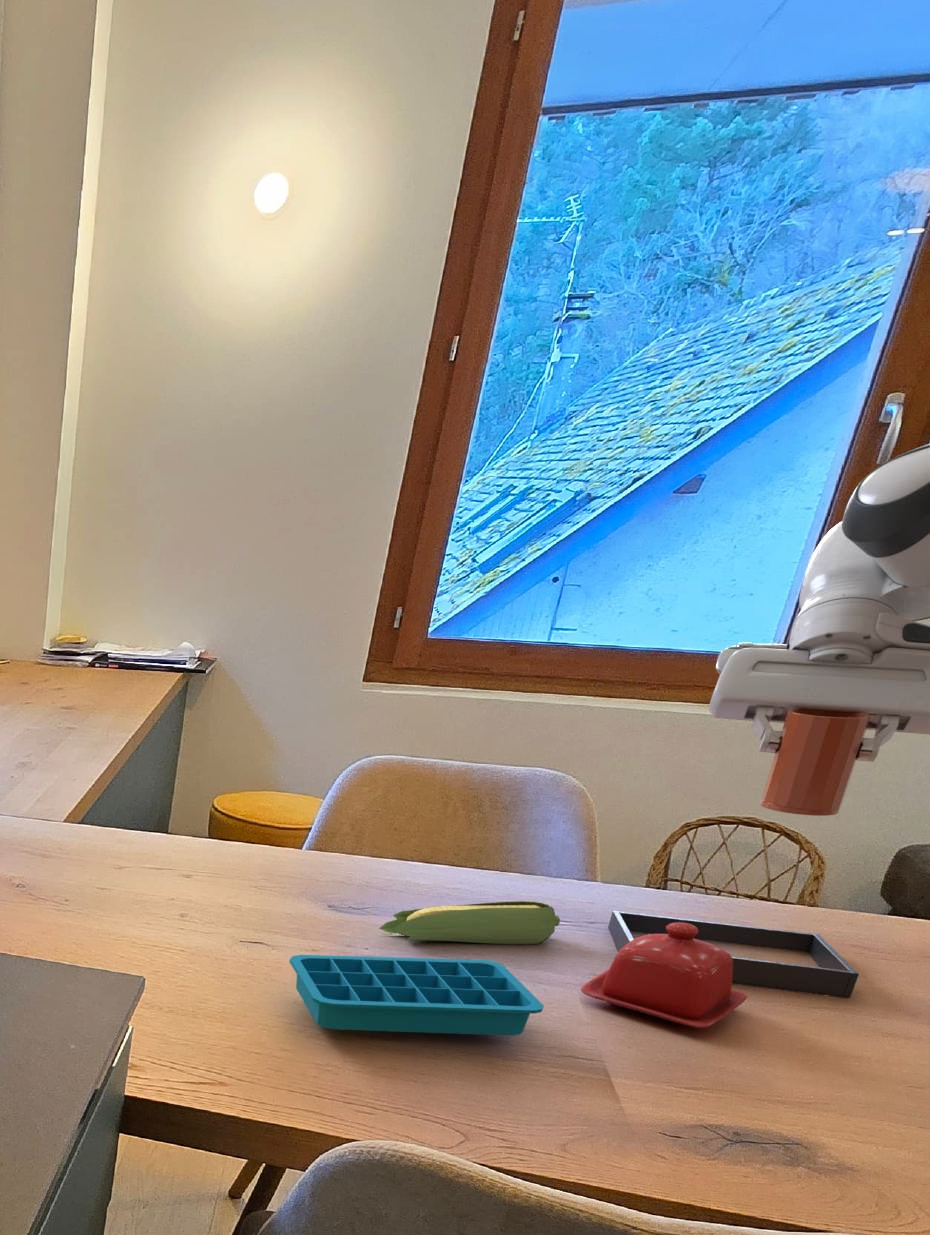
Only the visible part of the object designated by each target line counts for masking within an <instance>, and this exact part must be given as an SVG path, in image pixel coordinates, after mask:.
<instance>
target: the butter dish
mask: <svg viewBox="0 0 930 1235" xmlns="http://www.w3.org/2000/svg"><path fill="white" fill-rule="evenodd" d="M666 930H667V932H668V934H644V935H641V936H638V937H637V938H634V940H632V941H631V942H629V943H628V944H626V945H625V946H624V947H623V948H622V949H621V950H620V951H619V952H618V951H617V953H616V955H615V956H614V958H613V961H612V962H611V964H610V967H609V968H608V969H606V970H605V971H603V972H601V973H600V974H598V975H597V976H595V977H593V978H592V979H591V980H589V981H588V982H587V983H585V984H584V985H582V986H581V988H580V991H581V993H582V994H584V995H586V996H588V997H591V998H593V999H596V1000H600V1001H604V1002H606V1003H608V1004H611V1005H614V1006H617V1007H621V1008H624V1009H628V1010H631V1011H635V1012H637V1013H642V1014H645V1015H648V1016H651V1017H655V1018H658V1019H662V1020H666V1021H669V1022H672V1023H676V1024H678V1025H679V1024H680V1025H683V1026H690V1027H693V1028H700V1029H703V1028H708V1027H710V1026H712V1025H714V1024H715V1023H718V1022H719V1021H720V1020H721V1019H722V1018H724V1017H725V1016H727V1015H728V1014H730V1013H731V1012H732V1011H733V1010H735V1009H736V1008H738V1007H739V1006H740V1005H742V1004H743V1003H745V1001H746V1000H747V999H748V995H747V994H746V993H744V992H742V991H739V990H737V989H732V986H733V984H732V975H733V959H732V957H733V956H732V955H731V954H730V952H728V951H727V950H725V949H723V948H721V947H720V946H717V945H715V944H714V943H713V944H712V943H710V942H706V941H705V940H699V939H693V938H694V936H696V935H697V934H698V929H697V927H695V926H694V925H691V924H688V923H682V922H676V923H671V924H669V925H667V926H666Z"/></svg>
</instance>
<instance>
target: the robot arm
mask: <svg viewBox="0 0 930 1235" xmlns="http://www.w3.org/2000/svg"><path fill="white" fill-rule="evenodd" d="M798 603H799V608H800V612H798V614H797V616H796V617H795V619H794V621H793V624H792V628H791V632H790V636H789V641H788V644H785V643H784V644H783V643H753V642H739V643H737V645H731V646H728V647H726V648H724V649H722V650H721V652H720V653H719V654H718V655H717V659H716V663H715V670H716V672H717V674H718V675H719V677H718V678H717V682H716V685H715V688H714V690H713V692H712V696H711V698H710V702H709V705H708V712H709V713H710V714H711V715H712V717H714V718H715V719H722V720H734V721H749V722H752V723H751V729H752V731H754V733H755V735H756V736H757V738H758V739H759V740H760V745H759V749H758V752H759V753H769V754H770V753H771V754H775V753H776V752H777V749H778V747H779V744H780V738H781V736H782V730H774V728H773V727H772V725H771V723H773V724H774V723H775V724H784V722H785V719H786V716H787V713H788V711H789V710H790V709H813V710H828V711H842V712H856V713H863V714H867V715H869V716H871V717H870V720H869V723H868V726H867V729H866V731H874V737H864V738H863V741H862V744H861V747H860V750H859V754H858V756H857V759H856V761H861V762H871V763H872V762H873V763H874V762H875V760H876V758H877V757H878V754H879V753H880V752H879V751H880V748H881V747H882V746H883V745H884V744H886V743H887V742H888V741H890V740H891V739H892V738H893V736H894V734H895V733H903V734H904V733H906V734H918V735H919V734H920V735H930V625H929V624H925V623H921V622H918V621H924V620H928V619H930V443H929V444H925V445H923V446H920V447H917V448H915V449H912V450H909V451H906V452H905V453H902V454H899V455H897V456H895V457H892V458H890V459H889V460H887V461H885V462H883V463H882V464H880V465H878V466H877V467H876V468H874V469H873V470H872V471H870V472H869V473H867V475H866V476H865V477H864V478H863V479H862V480H861V481H860V482H859V483H858V485H857V486H856V488H855V489H854V491H853V492H852V494H851V496H850V498H849V499H848V502H847V504H846V506H845V510H844V512H843V517H842V520H841V521H840V522H839V523H837V524H836V525H835V526H833V527H832V528H831V529H830V530H829V531H828V532H827V533H826V534H825V535H824V536H823V538H822V539H821V540H820V542H819V543H818V545H817V546H816V548H815V550H814V551H813V553H812V555H811V557H810V560H809V562H808V564H807V567H806V570H805V574H804V577H803V581H802V585H801V589H800V592H799V598H798Z"/></svg>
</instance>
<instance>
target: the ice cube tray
mask: <svg viewBox="0 0 930 1235" xmlns="http://www.w3.org/2000/svg"><path fill="white" fill-rule="evenodd" d="M289 964H290V965H291V967H292V969H293V971H294V972H295V973H296V984H295V989H296V991H297V992H298V994H299V996H300V998H301V999H302V1001H303V1003H304V1004H305V1006H306V1008H307V1010H308V1011H309V1013H310V1015H311V1016H312V1018H313V1020H314V1021H315V1023H316V1025H317V1026H319V1027H321V1028H325V1029H330V1030H343V1031H344V1030H345V1031H346V1030H347V1031H371V1032H372V1031H373V1032H398V1033H399V1032H401V1033H402V1032H403V1033H427V1034H429V1033H431V1034H456V1035H458V1034H459V1035H460V1034H461V1035H484V1036H485V1035H487V1036H520V1035H522V1033H524V1030H525V1027H526V1025H527V1023H528V1020H529V1017H530V1015H531V1014H539V1013H542V1011H543V1009H544V1006H545V1005H544V1004H543V1003H542V1002H541V1001H540V1000H539V999H538V998H537V997H536V996H535V995H534V994H533V993H532V992H531V991H530V990H529V989H528V988H527V987H526V986H525V985H524V984H523V983H522V982H521V981H520V980H519V979H518V978H517V977H516V976H515V975H514V974H513V972H511V971H509V969H508V968H507V967H506V966H505V965H504V964H502V963H499V962H497V961H494V960H493V961H492V960H488V959H468V958H466V959H465V958H464V959H463V958H462V959H461V958H433V957H432V958H429V957H428V958H427V957H392V956H391V957H390V956H363V955H362V956H358V955H357V956H355V955H327V954H326V955H324V954H322V955H321V954H296V955H292V956H291V957H290V958H289Z"/></svg>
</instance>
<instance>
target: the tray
mask: <svg viewBox="0 0 930 1235" xmlns="http://www.w3.org/2000/svg"><path fill="white" fill-rule="evenodd" d="M676 922H682V923H688V924H691V925H694V926H695V927H697V929H698V934H697V935H696V936H694V938H693V939H697V940H700V941H708V942H717V943H725V944H734V945H742V946H751V947H759V948H768V949H776V950H785V951H793V952H802V953H808V955H809V956H810V957H811V958H812V960H813V961H814V962H815V963H816V965H817V966H810V965H802V964H795V963H787V962H780V961H779V962H777V961H770V960H764V959H763V960H762V959H755V958H745V957H739V956H732V959H733V975H732V985H737V986H738V985H739V984H740V985H739V986H746V987H755V988H763V989H771V990H779V991H785V990H786V991H785V992H794V993H802V994H809V993H811V994H810V995H816V994H817V996H824V995H829V996H828V997H833V996H834V997H833V998H840V999H848V998H850V999H851V997H852V994H853V992H854V989H855V986H856V984H857V981H858V978H859V975H860V974H859V972H858V971H857V970H856V969H855V968H854V967H853V966H852V965H850V964H849V963H848V961H846V959H844V957H843V956H842V955H840V954H839V953H838V951H837V950H835V949H834V948H833V947H832V946H831V944H829V942H828V941H826V940H825V939H824V938H823V937H822V936H821V934H819V933H811V932H803V931H802V932H801V931H794V930H793V931H792V930H785V929H777V928H776V929H775V928H769V927H768V928H767V927H759V926H750V925H741V924H734V923H733V924H732V923H724V922H717V921H716V922H715V921H708V920H707V921H706V920H697V919H690V918H689V919H687V918H682V917H681V918H679V917H672V916H662V915H653V914H645V913H637V912H629V911H628V912H627V911H618V910H612V911H611V915H610V920H609V922H608V926H607V928H608V930H609V932H610V936H611V938H612V941H613V944H614V946H615V948H616V951H617V953H618V952H619V951H620V950H621V949H622V948H623V947H624V946H625V945H626V944H628V943H629V942H631V941H632V940H634V939H635V938H634V936H633V934H632V933H640V934H646V935H648V934H668V932H667V930H666V926H667V925H669V924H671V923H676Z"/></svg>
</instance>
